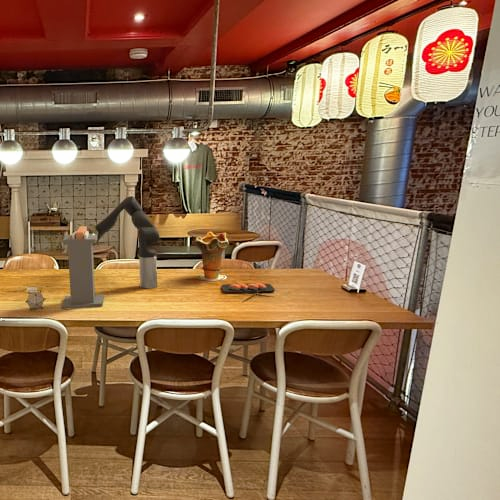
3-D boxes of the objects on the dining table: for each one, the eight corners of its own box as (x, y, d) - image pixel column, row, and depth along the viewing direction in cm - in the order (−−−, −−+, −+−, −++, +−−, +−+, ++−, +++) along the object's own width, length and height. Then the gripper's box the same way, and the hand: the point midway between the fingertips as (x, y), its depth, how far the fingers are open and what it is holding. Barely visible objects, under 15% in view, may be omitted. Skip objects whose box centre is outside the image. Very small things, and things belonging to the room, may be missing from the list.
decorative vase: (190, 280, 244) (191, 233, 240) (199, 273, 267) (200, 230, 263) (224, 283, 242) (226, 235, 238) (231, 275, 265) (232, 231, 261)
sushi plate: (270, 286, 241) (270, 280, 240) (282, 302, 212) (283, 295, 211) (220, 287, 236) (220, 281, 235) (226, 304, 207) (226, 296, 206)
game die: (31, 316, 191) (17, 300, 189) (46, 305, 197) (32, 289, 195) (38, 311, 185) (23, 294, 183) (53, 300, 191) (39, 283, 189)
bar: (80, 232, 212) (80, 226, 211) (86, 231, 212) (86, 226, 212) (76, 239, 191) (75, 232, 190) (83, 238, 192) (82, 232, 191)
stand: (104, 295, 212) (101, 230, 206) (102, 306, 196) (99, 235, 190) (66, 298, 207) (62, 230, 201) (61, 309, 191) (56, 236, 185)
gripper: (101, 243, 239) (99, 243, 223) (74, 243, 235) (71, 244, 219) (101, 230, 239) (99, 229, 223) (74, 230, 235) (71, 229, 219)
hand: (85, 236), depth 221 cm, fingers open, 8 cm apart
